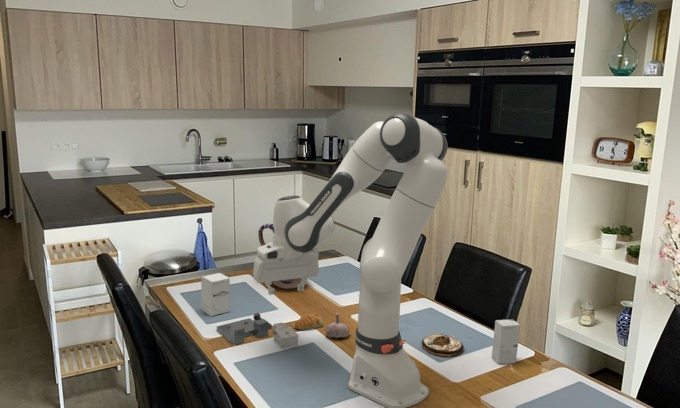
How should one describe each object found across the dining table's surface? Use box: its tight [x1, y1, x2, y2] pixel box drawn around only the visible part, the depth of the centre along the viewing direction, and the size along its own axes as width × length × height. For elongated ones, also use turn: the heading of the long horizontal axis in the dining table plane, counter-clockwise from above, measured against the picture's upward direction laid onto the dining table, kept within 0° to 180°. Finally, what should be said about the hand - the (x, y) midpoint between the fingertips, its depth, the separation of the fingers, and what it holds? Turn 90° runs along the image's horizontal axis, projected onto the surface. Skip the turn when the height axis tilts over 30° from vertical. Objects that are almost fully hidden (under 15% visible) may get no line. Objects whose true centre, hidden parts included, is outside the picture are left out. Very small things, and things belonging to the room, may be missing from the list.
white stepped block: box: [272, 322, 299, 350], centre depth 171 cm, size 10×6×4 cm, turn 27°
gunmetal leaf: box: [216, 317, 269, 346], centre depth 175 cm, size 12×12×4 cm
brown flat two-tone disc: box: [421, 332, 465, 358], centre depth 170 cm, size 15×15×4 cm
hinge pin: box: [253, 312, 273, 330], centre depth 182 cm, size 9×2×2 cm, turn 39°
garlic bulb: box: [325, 312, 350, 339], centre depth 175 cm, size 8×7×8 cm
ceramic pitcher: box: [257, 223, 302, 290], centre depth 217 cm, size 18×21×25 cm
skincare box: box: [491, 319, 521, 365], centre depth 162 cm, size 6×4×12 cm
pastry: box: [294, 312, 324, 331], centre depth 182 cm, size 9×7×4 cm
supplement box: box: [200, 272, 231, 317], centre depth 191 cm, size 7×7×13 cm
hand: (286, 292), depth 167 cm, fingers open, 8 cm apart
